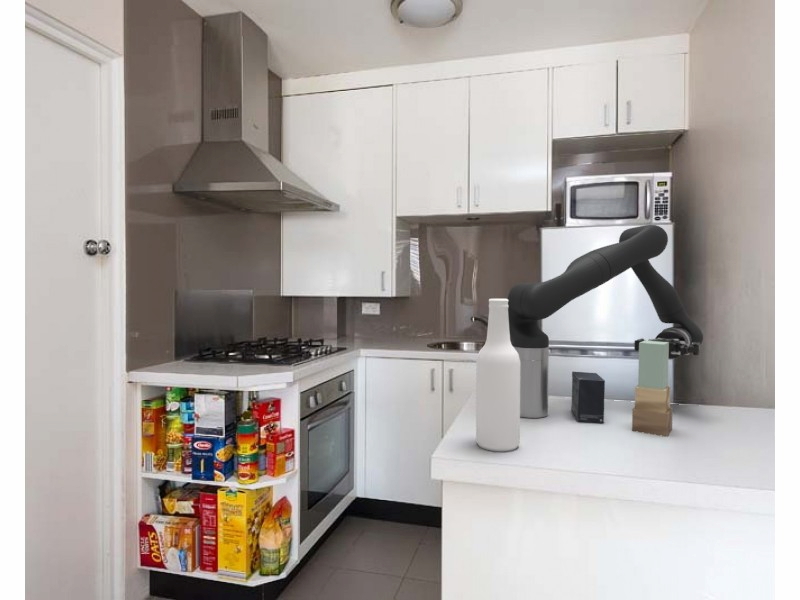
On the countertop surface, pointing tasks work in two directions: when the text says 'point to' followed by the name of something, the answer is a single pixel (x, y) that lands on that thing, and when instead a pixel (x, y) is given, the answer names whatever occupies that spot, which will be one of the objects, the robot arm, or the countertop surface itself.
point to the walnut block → (652, 422)
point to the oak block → (652, 399)
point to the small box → (588, 397)
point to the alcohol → (498, 384)
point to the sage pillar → (653, 365)
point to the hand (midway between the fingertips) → (661, 349)
